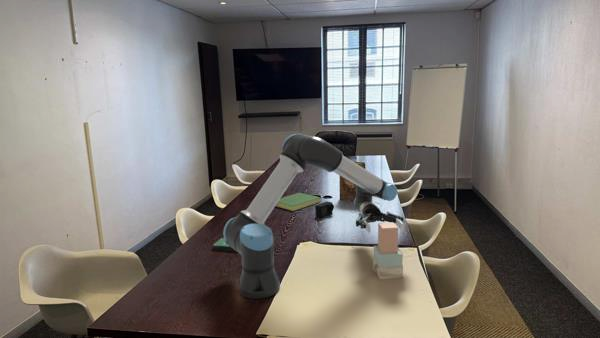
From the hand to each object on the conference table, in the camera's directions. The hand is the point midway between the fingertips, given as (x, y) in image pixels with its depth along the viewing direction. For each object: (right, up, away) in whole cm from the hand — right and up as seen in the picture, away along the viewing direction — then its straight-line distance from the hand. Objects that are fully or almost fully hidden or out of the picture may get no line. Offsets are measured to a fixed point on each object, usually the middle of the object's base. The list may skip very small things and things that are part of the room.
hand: (386, 228), depth 158 cm
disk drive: (-66, -14, +31) cm, 75 cm away
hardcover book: (-37, 0, +96) cm, 103 cm away
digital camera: (-20, -4, +72) cm, 75 cm away
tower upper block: (0, -13, -1) cm, 13 cm away
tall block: (0, -8, -2) cm, 8 cm away
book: (-1, +3, +101) cm, 101 cm away
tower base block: (+1, -18, 0) cm, 18 cm away
